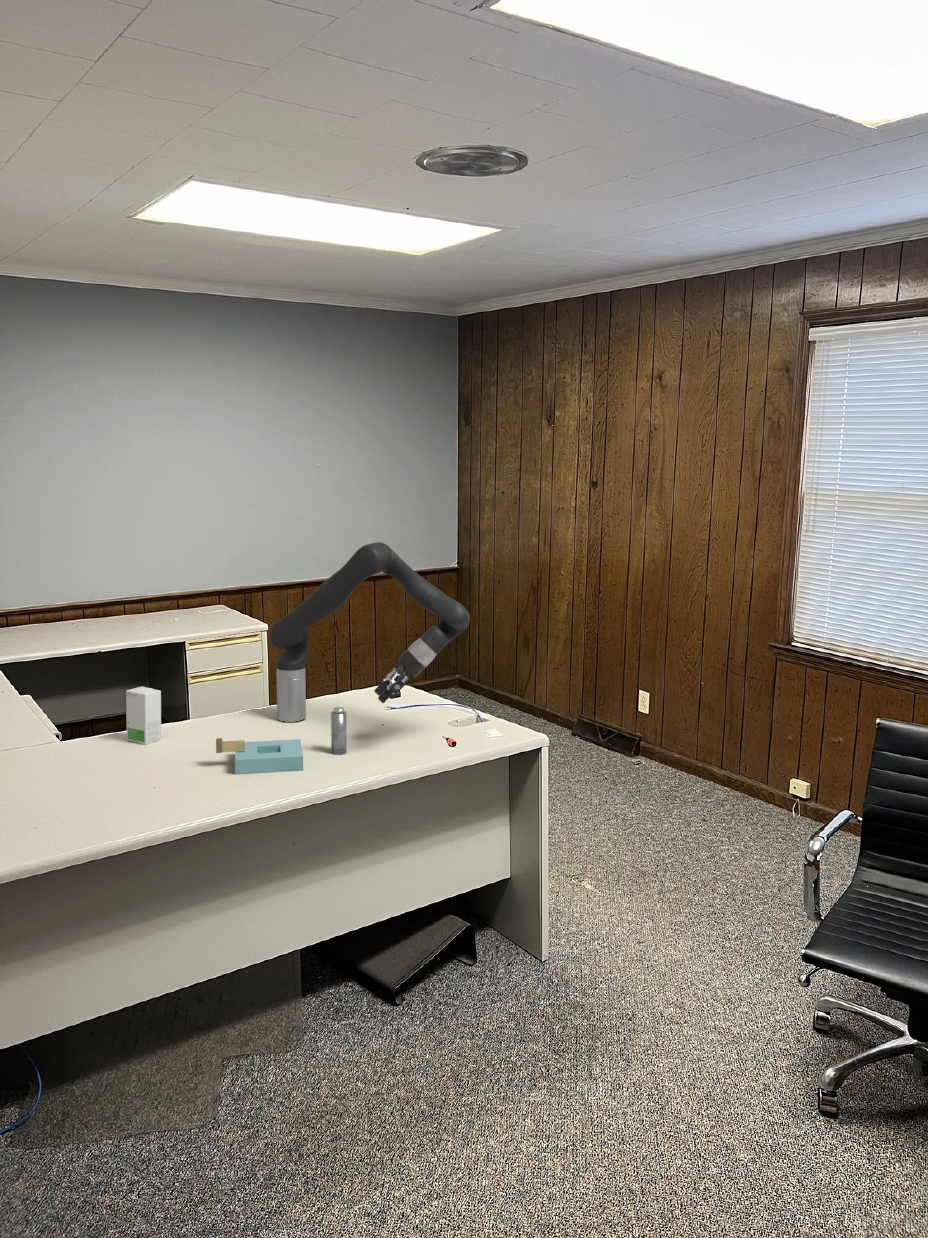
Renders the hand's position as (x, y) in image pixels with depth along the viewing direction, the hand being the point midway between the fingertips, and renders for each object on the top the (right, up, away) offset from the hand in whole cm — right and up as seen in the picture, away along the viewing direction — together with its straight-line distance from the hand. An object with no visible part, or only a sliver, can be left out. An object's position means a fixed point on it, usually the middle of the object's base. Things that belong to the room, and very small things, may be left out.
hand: (378, 697), depth 263 cm
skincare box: (-71, -14, +9) cm, 73 cm away
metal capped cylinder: (-11, -16, 0) cm, 20 cm away
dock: (-30, -18, -10) cm, 36 cm away
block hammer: (-39, -14, -13) cm, 43 cm away
